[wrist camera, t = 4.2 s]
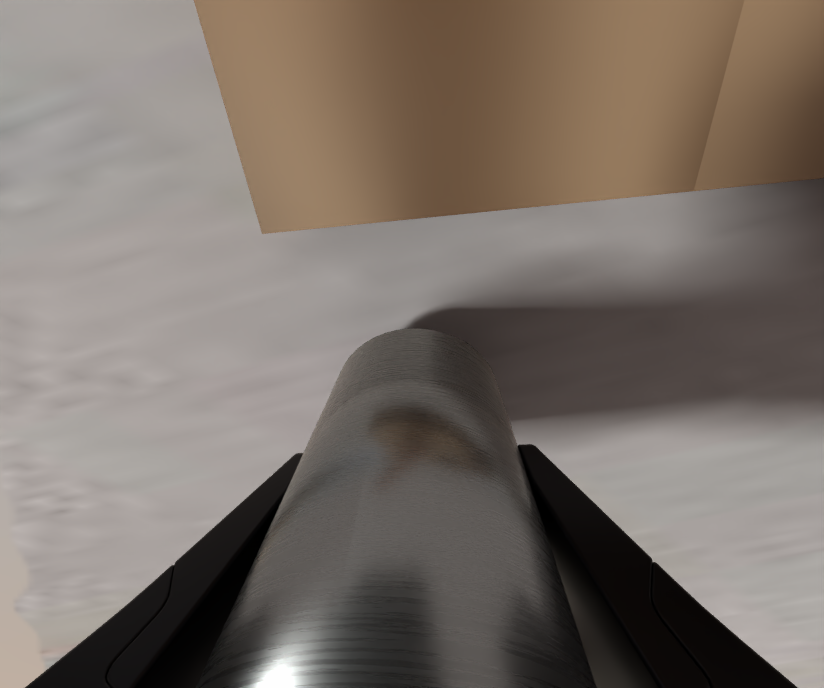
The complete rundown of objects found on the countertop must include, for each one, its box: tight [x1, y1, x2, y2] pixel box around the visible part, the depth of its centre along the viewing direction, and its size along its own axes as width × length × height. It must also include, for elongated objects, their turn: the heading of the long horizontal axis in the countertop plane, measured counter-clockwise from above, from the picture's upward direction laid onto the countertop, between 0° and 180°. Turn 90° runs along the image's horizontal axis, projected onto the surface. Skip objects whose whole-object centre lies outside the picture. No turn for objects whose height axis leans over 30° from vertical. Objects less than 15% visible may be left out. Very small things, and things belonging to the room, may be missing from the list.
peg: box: [196, 329, 597, 688], centre depth 8 cm, size 6×6×8 cm
